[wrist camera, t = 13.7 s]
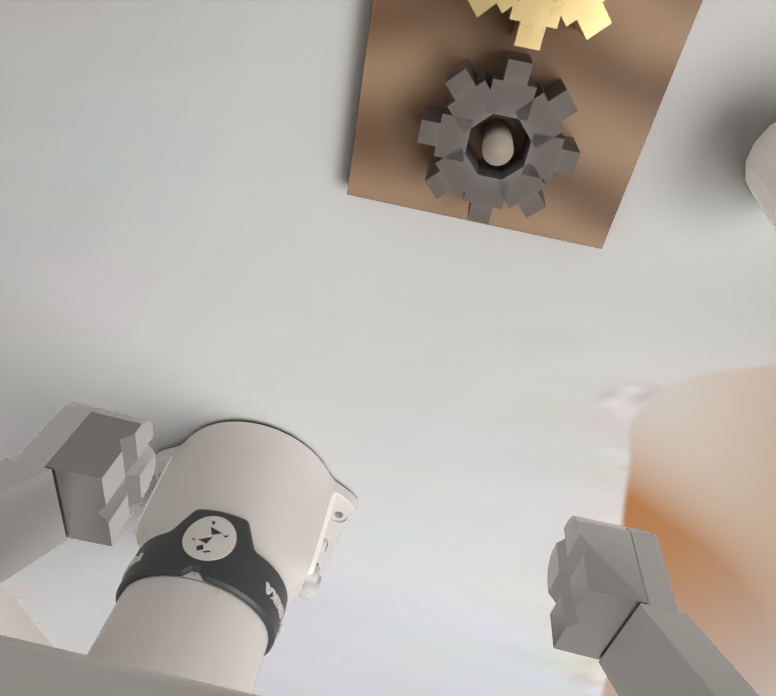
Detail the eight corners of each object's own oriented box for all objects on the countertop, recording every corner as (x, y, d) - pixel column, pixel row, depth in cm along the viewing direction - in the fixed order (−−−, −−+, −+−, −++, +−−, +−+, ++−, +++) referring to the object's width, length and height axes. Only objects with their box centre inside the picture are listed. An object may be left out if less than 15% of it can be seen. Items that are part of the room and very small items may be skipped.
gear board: (597, 239, 38) (611, 274, 34) (351, 186, 39) (335, 215, 34) (760, -170, 27) (809, -191, 23) (409, -239, 27) (395, -272, 23)
